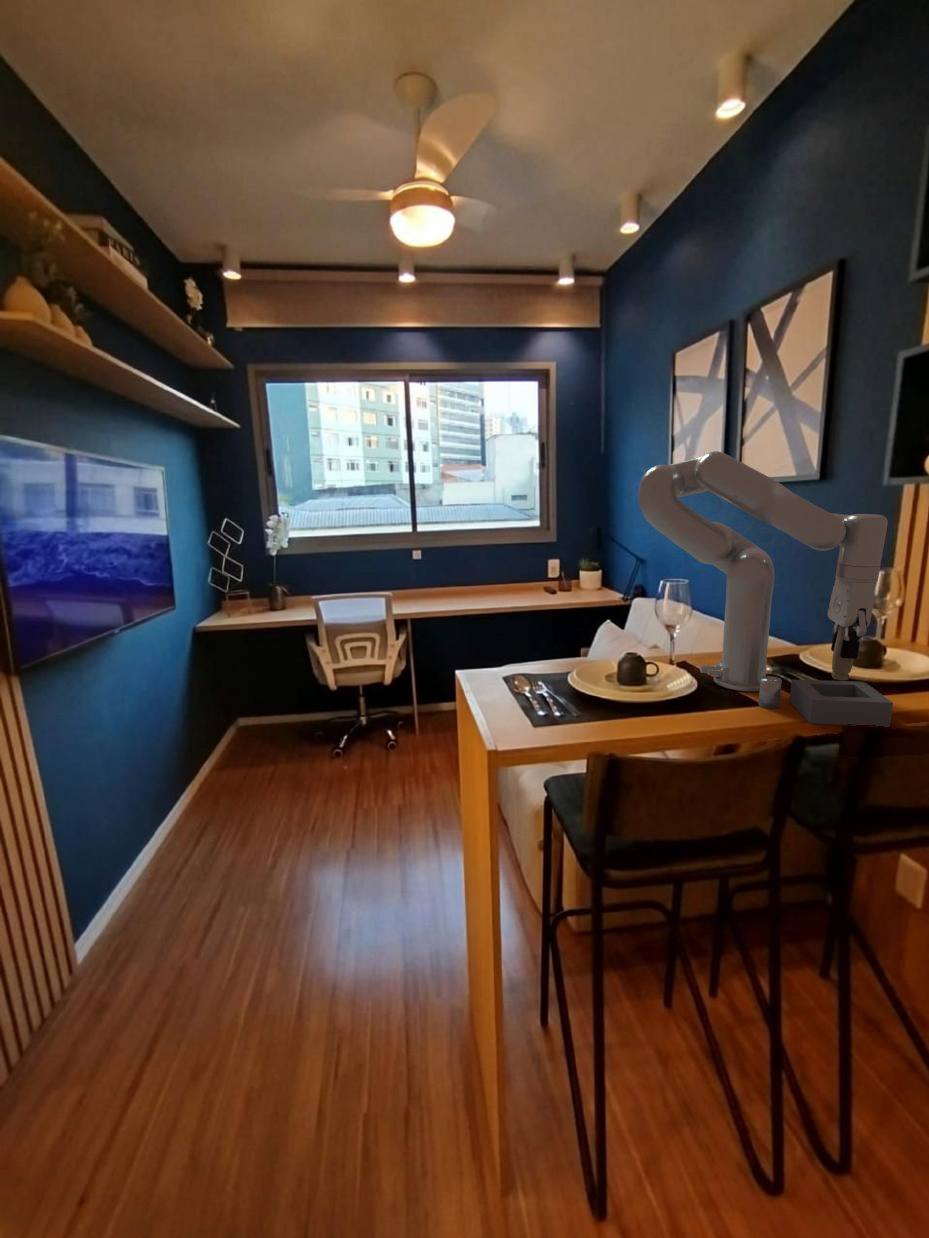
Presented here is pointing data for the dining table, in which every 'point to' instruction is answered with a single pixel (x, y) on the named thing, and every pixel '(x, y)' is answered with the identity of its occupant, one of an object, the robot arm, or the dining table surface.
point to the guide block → (840, 703)
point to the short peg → (769, 692)
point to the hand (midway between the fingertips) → (843, 653)
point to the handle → (839, 664)
